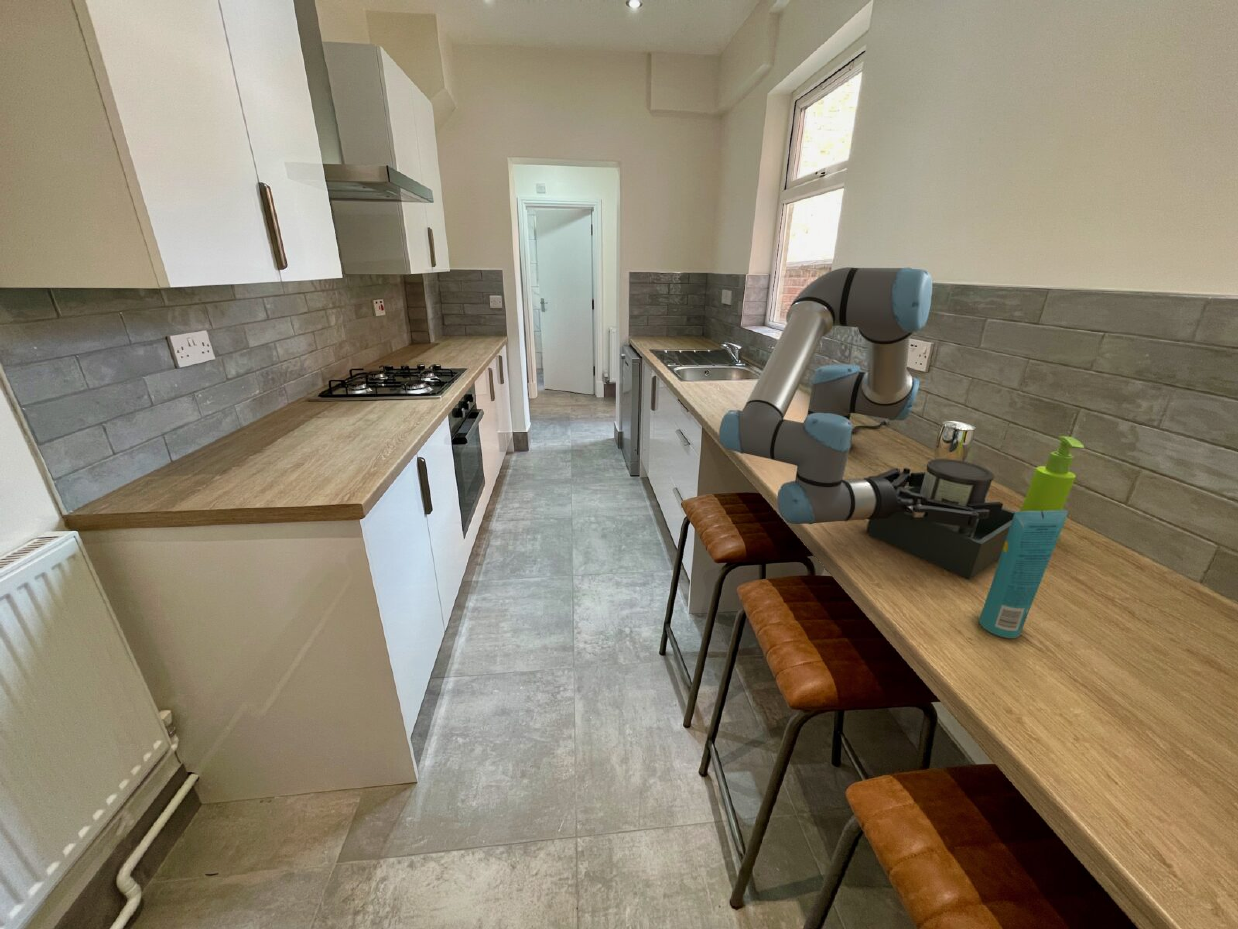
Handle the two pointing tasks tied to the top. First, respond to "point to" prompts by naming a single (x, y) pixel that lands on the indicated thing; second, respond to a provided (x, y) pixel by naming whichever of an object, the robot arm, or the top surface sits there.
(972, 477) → the coffee can
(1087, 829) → the top surface
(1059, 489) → the soap dispenser
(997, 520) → the storage bin
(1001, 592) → the tube
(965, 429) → the silver metal cylinder
